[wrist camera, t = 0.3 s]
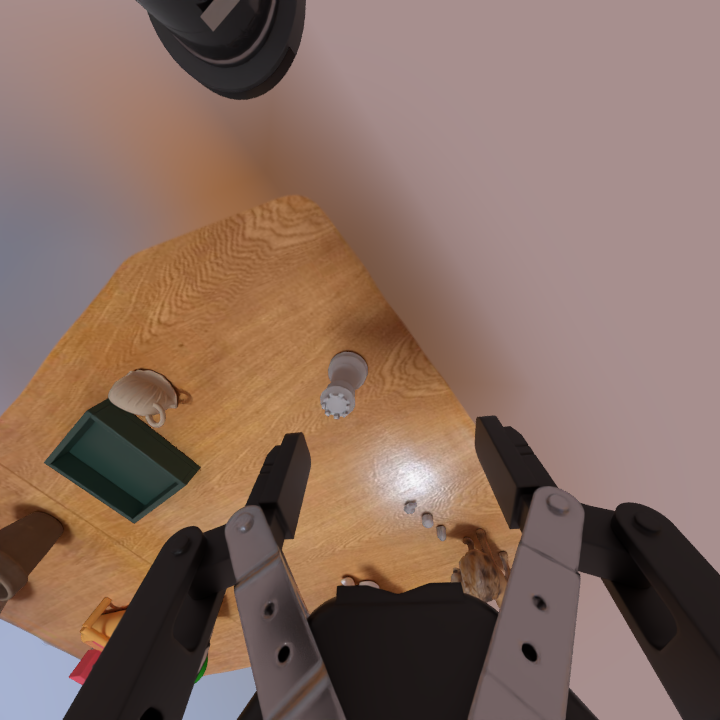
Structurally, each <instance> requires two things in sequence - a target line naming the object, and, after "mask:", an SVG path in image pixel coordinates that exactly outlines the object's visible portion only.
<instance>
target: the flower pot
mask: <svg viewBox="0 0 720 720" xmlns="http://www.w3.org/2000/svg"><path fill="white" fill-rule="evenodd" d="M62 533H63V527H62V525H61V524H60V522H59V521H58V520H56V519H55V518H54V517H52V516H50V515H48V514H45V513H41V512H35V513H32V514H30V515H28V516H26V517H24V518H22V519H20V520H18V521H16V522H14V523H12V524H10V525H8V526H6V527H5V528H3V529H1V530H0V601H6V600H9V599H11V598H12V597H13V596H14V595H15V594H16V593H17V592H18V591H19V590H20V589H21V588H22V587H23V586H24V585H25V584H26V583H27V581H28V575H29V574H30V573H31V572H32V570H33V569H34V568H35V567H36V566H37V564H38V563H39V562H40V561H41V560H42V558H43V557H44V556H45V555H46V554H47V552H48V551H49V550H50V549H51V547H52V546H53V545H54V544H55V542H56V541H57V540H58V538H59V537H60V536H61V534H62Z"/></svg>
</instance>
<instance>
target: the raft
mask: <svg viewBox="0 0 720 720" xmlns="http://www.w3.org/2000/svg"><path fill="white" fill-rule="evenodd" d="M110 603H111V600H110V599H109V598H104V599H103V600H102V602H101V603H100V604H99V605H98V606H97V608H96V609H95V610H94V611H93V613H92V614H91V615H90V616H89V618H88V619H87V620H86V621H85V623H84V624H83V625H82V626H83V628H82V629H81V630H80V633H81V640H82V642H84V643H86V644H87V645H89V646H91V647H92V648H91V650H88V651H87V653H86V654H85V655H84V657H83V658H82V659H81V661H80V662H79V664H78V665H77V666H76V668H75V669H74V670H73V672H72V673H71V674H70V676H69V678H71V679H73V680H74V681H76V682H78V683H80V684H81V685H83V684H84V682H85V680H86V678H87V677H88V675H89V673H90V671H91V670H92V668H93V666H94V665H95V663H96V661H97V659H98V658H99V656H100V654H101V652H102V651H103V649H104V647H105V646H106V644H107V642H108V640H109V639H110V637H111V635H112V633H113V632H114V630H115V628H116V627H117V625H118V623H119V621H120V620H121V618H122V616H123V614H124V613H125V611H126V610H123V611H118V612H114V613H109V614H104V615H101V614H102V613H103V612H104V610H105V609H106V608H107V606H108V605H109V604H110Z"/></svg>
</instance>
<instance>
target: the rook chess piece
mask: <svg viewBox="0 0 720 720" xmlns="http://www.w3.org/2000/svg"><path fill="white" fill-rule="evenodd" d="M328 374H329V379H330V381H331V383H330V384H329V385H328V387H327V389H325V390H324V391H323V392H322V395H321V397H320V400H321V405H322V409H324V410H326V411H325V414H326V415H327V416H328V417H329V415H330V414H331V415H334V419H339V417H340V416H343V417H345V416H347V415H348V414H349V413H350V412H351V411H353V409H354V407H355V399H354V397H355V391H354V390H356V389H358V388H359V387H360V386H361V385H363V383H364V381H365V379H366V376H367V374H368V367H367V365H366V363H365V360H364V359H362V358H361V357H360V356H359V355H357V354H355V353H352V352H342V353H340V354H337V355H336V356H335V357H334V358H333V359H332V360H331V362H330V365H329V368H328Z"/></svg>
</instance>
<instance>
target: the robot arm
mask: <svg viewBox="0 0 720 720" xmlns="http://www.w3.org/2000/svg"><path fill="white" fill-rule="evenodd" d="M136 1H137V2H138V3H139V4H141V6H143V7H144V8H145V9H146V10H147V11H148V12H149V13H150V14H151V15H152V16H153V17H154V18H155V19H156V20H158V21H159V22H160V23H161V24H162V25H163V26H164V27H165V28H167V29H168V30H169V31H170V32H171V33H172V34H173V35H174V36H175V38H176V39H177V40H178V41H179V42H180V43H181V44H182V45H183V46H184V47H185V48H186V49H187V50H188V51H190V52H191V53H192V54H193V55H194V56H196V57H197V58H198V59H200V60H201V61H203V62H205V63H207V64H210V65H212V66H216V67H221V68H231V67H236V66H239V65H242V64H244V63H246V62H248V61H249V60H251V59H252V58H253V57H254V56H255V55H256V54H257V53H258V52H259V51H260V50H261V49H262V47H263V46H264V44H265V43H266V41H267V39H268V37H269V35H270V33H271V31H272V28H273V25H274V22H275V19H276V15H277V10H278V4H279V0H136ZM475 449H476V453H477V456H478V459H479V461H480V463H481V465H482V468H483V470H484V472H485V474H486V477H487V479H488V481H489V483H490V486H491V488H492V490H493V492H494V495H495V497H496V499H497V501H498V504H499V506H500V508H501V510H502V513H503V515H504V517H505V519H506V522H507V524H508V526H509V528H510V529H520V530H521V532H522V536H521V540H520V542H519V544H518V548H517V551H516V554H515V558H514V561H513V565H512V568H511V572H510V575H509V579H508V582H507V586H506V589H505V593H504V596H503V600H502V603H501V607H500V610H499V612H498V611H496V610H495V609H494V608H493V607H491V606H490V605H488V604H487V603H486V602H484V601H482V600H481V599H479V598H477V597H475V596H472V595H470V594H467V593H464V592H463V588H462V584H461V582H446V583H428V584H426V585H423V586H420V587H417V588H415V589H412V590H409V591H406V592H404V593H400V594H396V593H392V592H389V591H385V590H382V589H378V588H375V587H372V586H368V585H352V586H337V594H336V597H334V598H331V599H329V600H328V601H326V602H324V603H323V604H321V605H320V606H319V607H318V608H317V609H315V610H314V611H313V612H312V613H311V614H309V611H308V609H307V607H306V605H305V602H304V600H303V598H302V596H301V594H300V591H299V589H298V587H297V584H296V582H295V579H294V577H293V575H292V572H291V570H290V568H289V565H288V563H287V561H286V558H285V556H284V553H283V551H282V547H283V543H284V539H294V535H295V531H296V527H297V523H298V518H299V514H300V510H301V506H302V502H303V497H304V493H305V489H306V485H307V481H308V477H309V472H310V468H311V457H310V453H309V450H308V447H307V444H306V441H305V437H304V434H303V433H302V432H299V433H287V434H285V436H284V438H283V441H282V444H281V445H278V446H275V447H274V448H273V449H272V450H271V451H270V452H269V454H268V455H267V457H266V459H265V462H264V464H263V466H262V468H261V471H260V474H259V475H258V478H257V480H256V482H255V485H254V487H253V489H252V492H251V494H250V496H249V499H248V501H247V503H246V505H245V507H243V508H241V509H239V510H238V511H237V512H235V513H234V514H233V515H232V516H231V518H230V519H229V521H228V522H227V524H225V525H223V526H220V527H217V528H215V529H212V530H209V531H207V532H204V533H203V532H202V531H201V530H200V528H198V527H196V526H190V527H186V528H183V529H181V530H180V531H178V532H176V533H175V534H174V535H173V536H171V537H170V538H169V539H168V540H167V542H166V543H165V544H164V546H163V547H162V549H161V551H160V552H159V554H158V556H157V557H156V559H155V561H154V563H153V564H152V566H151V568H150V570H149V571H148V573H147V575H146V576H145V578H144V580H143V582H142V583H141V585H140V587H139V589H138V590H137V592H136V594H135V595H134V597H133V599H132V601H131V602H130V604H129V606H128V608H127V609H126V611H125V613H124V614H123V616H122V618H121V620H120V621H119V623H118V625H117V627H116V628H115V630H114V632H113V633H112V635H111V637H110V639H109V640H108V642H107V644H106V646H105V647H104V649H103V651H102V652H101V654H100V656H99V658H98V659H97V661H96V663H95V665H94V666H93V668H92V670H91V671H90V673H89V675H88V677H87V678H86V680H85V682H84V684H83V685H82V687H81V689H80V691H79V692H78V694H77V696H76V698H75V699H74V701H73V703H72V704H71V706H70V708H69V710H68V711H67V713H66V715H65V717H64V718H63V720H182V718H183V715H184V712H185V709H186V706H187V703H188V700H189V697H190V694H191V691H192V689H193V686H194V683H195V680H196V677H197V674H198V671H199V668H200V665H201V662H202V659H203V656H204V653H205V650H206V648H207V645H208V642H209V639H210V636H211V633H212V630H213V627H214V624H215V621H216V618H217V615H218V612H219V609H220V606H221V603H222V600H223V598H224V595H225V592H226V589H227V588H229V587H231V586H233V585H235V586H234V593H235V598H236V602H237V607H238V611H239V615H240V620H241V624H242V628H243V633H244V637H245V642H246V646H247V650H248V655H249V659H250V663H251V668H252V672H253V676H254V680H255V685H256V690H257V691H256V692H255V694H254V695H253V697H252V698H251V700H250V701H249V702H248V704H247V706H246V707H245V708H244V710H243V711H242V713H241V714H240V716H239V717H238V718H237V720H598V718H597V717H596V716H595V715H594V714H593V713H592V712H591V711H590V710H589V709H588V708H587V706H586V705H585V704H584V703H583V702H582V701H581V700H580V699H579V698H578V697H577V696H576V695H575V693H573V691H572V690H571V689H570V688H569V682H570V672H571V664H572V654H573V645H574V636H575V627H576V617H577V607H578V599H579V589H580V574H579V573H578V571H580V572H583V573H587V574H591V575H594V576H597V577H601V579H602V581H603V583H604V584H605V586H606V588H607V590H608V591H609V593H610V595H611V596H612V598H613V600H614V602H615V603H616V605H617V607H618V609H619V610H620V612H621V614H622V615H623V617H624V619H625V621H626V622H627V624H628V626H629V628H630V629H631V631H632V633H633V634H634V636H635V638H636V640H637V641H638V643H639V645H640V646H641V648H642V650H643V652H644V653H645V655H646V656H647V659H648V660H649V662H650V664H651V665H652V667H653V669H654V671H655V672H656V674H657V676H658V678H659V679H660V681H661V683H662V685H663V686H664V688H665V690H666V691H667V693H668V695H669V696H670V698H671V700H672V702H673V703H674V705H675V707H676V709H677V710H678V712H679V714H680V716H681V717H682V719H683V720H720V575H719V573H718V572H717V571H716V570H715V569H714V568H713V567H712V566H711V565H710V564H709V563H708V561H707V560H706V559H705V558H704V557H703V556H702V555H701V554H700V553H699V552H698V550H697V549H696V548H695V547H694V546H693V545H692V544H691V543H690V542H689V541H688V540H687V538H685V536H684V535H683V534H682V533H681V532H680V531H679V530H678V529H677V527H676V526H675V525H674V524H673V523H672V522H671V521H670V520H669V519H667V518H666V517H665V516H663V515H662V514H661V513H659V512H657V511H656V510H654V509H652V508H650V507H647V506H644V505H641V504H637V503H629V502H628V503H622V504H620V505H618V506H617V508H616V510H615V511H612V510H607V509H603V508H598V507H593V506H589V505H585V504H582V503H580V502H579V501H578V500H577V499H576V498H575V497H574V496H572V495H571V494H570V493H568V492H566V491H564V490H562V489H559V488H558V487H557V486H556V484H555V483H554V481H553V480H552V478H551V477H550V475H549V474H548V472H547V471H546V470H545V468H544V467H543V465H542V464H541V462H540V461H539V460H538V458H537V457H536V455H534V452H533V451H532V449H531V448H530V447H529V446H528V444H527V442H526V441H525V439H524V438H523V436H522V435H521V434H520V433H519V432H517V431H516V430H515V429H513V428H512V427H511V426H508V427H503V426H502V424H501V423H500V421H499V420H498V418H497V417H496V416H484V417H477V419H476V430H475Z"/></svg>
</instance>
